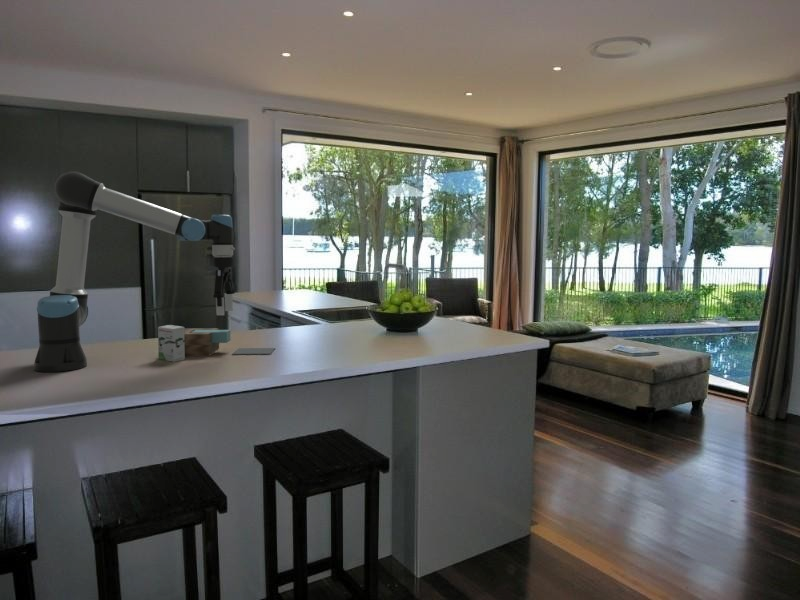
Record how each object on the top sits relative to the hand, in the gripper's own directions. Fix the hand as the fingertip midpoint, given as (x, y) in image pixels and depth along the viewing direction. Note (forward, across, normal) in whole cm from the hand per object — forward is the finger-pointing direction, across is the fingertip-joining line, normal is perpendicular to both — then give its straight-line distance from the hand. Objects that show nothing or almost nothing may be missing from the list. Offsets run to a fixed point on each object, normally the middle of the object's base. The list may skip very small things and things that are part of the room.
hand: (224, 313), depth 226 cm
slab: (+11, 0, +5) cm, 12 cm away
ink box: (+15, -14, +16) cm, 26 cm away
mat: (+15, 0, -11) cm, 18 cm away
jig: (+15, 0, +12) cm, 19 cm away
